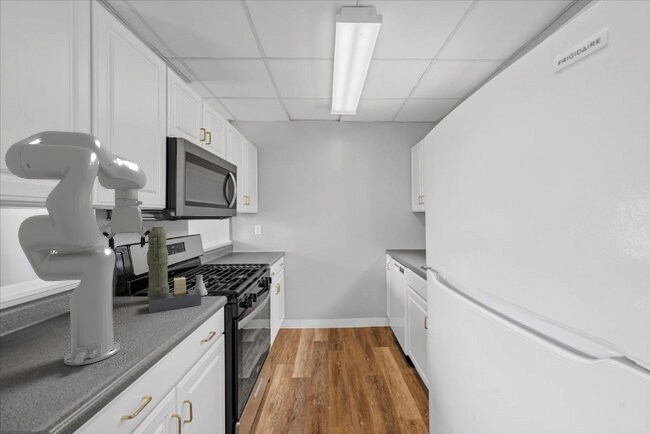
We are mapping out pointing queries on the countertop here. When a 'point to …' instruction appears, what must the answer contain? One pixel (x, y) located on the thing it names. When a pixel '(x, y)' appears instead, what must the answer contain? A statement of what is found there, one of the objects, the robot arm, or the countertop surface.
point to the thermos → (157, 262)
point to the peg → (179, 286)
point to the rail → (174, 300)
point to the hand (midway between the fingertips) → (127, 248)
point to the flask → (200, 285)
